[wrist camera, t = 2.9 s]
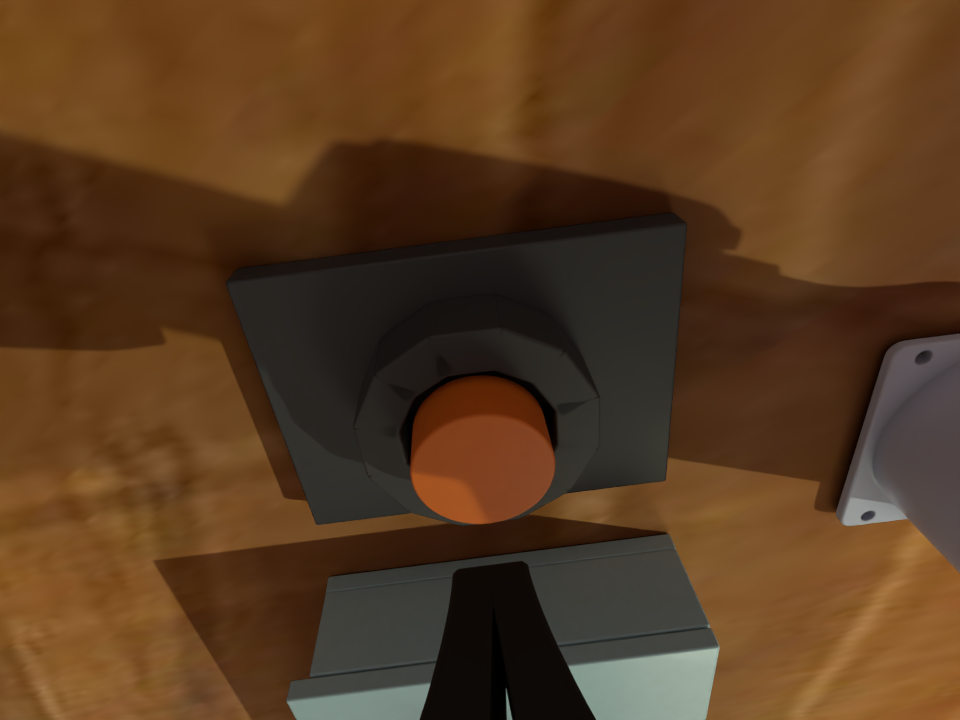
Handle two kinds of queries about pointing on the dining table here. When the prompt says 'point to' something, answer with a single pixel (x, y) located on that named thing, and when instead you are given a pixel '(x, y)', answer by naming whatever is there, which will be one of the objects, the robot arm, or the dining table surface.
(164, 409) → the dining table surface
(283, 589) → the dining table surface
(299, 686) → the freezer lid
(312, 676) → the box
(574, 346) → the release block
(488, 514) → the button
